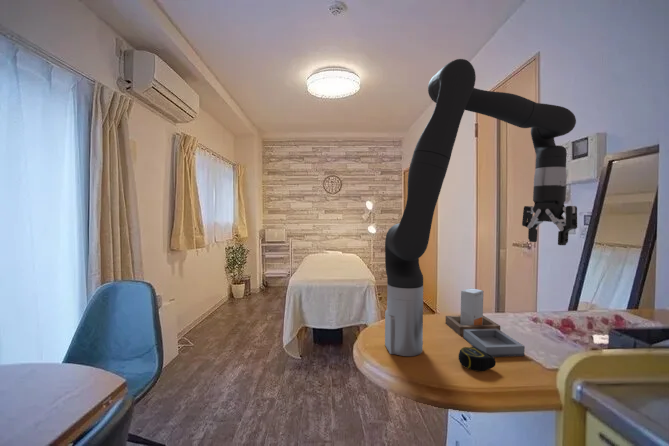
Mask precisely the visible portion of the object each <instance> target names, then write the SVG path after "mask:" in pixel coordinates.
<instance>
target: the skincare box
mask: <svg viewBox="0 0 669 446" xmlns="http://www.w3.org/2000/svg"><path fill="white" fill-rule="evenodd" d="M460 315H461V318H460V324H461V325H483V316H484V290H481V289H477V288H466V289H463V290H460Z"/></svg>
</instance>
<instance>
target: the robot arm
mask: <svg viewBox="0 0 669 446" xmlns="http://www.w3.org/2000/svg"><path fill="white" fill-rule="evenodd" d="M476 77H477V76H476V70H475V68H474V66H473V64H472V63H471V62H470V61H469V60H467V59H465V58H458V59H454V60H452V61H449V62H448V63H446V64H445V65H444V66H443V67H442V68H441V69H439V70H438V71H437V72H436V73H435V74H434V75H433V76H432V77H431V79H430V80H429V82H428V84H427V93H428V96H429V98H430V99H431V101H432V102H433V103H435V105H434V106H435V107H434V110H433V112H432V115H431V116H430V118H429V120H428V122H427V124H426V126H425V127H424V129H423V131H422V133H421V135H420V137H419V138H418V141H417V142H416V145H415V148H414V150H413V153H412V157H411V161H410V164H409V169H408V174H407V195H406V196H407V197H406V203H405V207H404V211H403V213H402V216H401V219H400V221H399V223H396V224H394V225H391V226H390V228H389V229H388V230H387V232H386V235H385V240H384V254H385V255H384V261H385V266H384V267H385V273H386V280H387V281H386V282H387V283H386V285H387V286H386V289H387V290H386V291H387V292H386V293H387V294H386V295H387V296H386V298H387V299H386V300H387V301H386V309H385V312H384V345H385V347H386V349H387V350H388V353H389V354H390V355H397V356H401V357H402V356H403V357H416V356H419V355H421V354H422V353H423V348H424V347H423V345H424V341H423V340H424V338H423V337H424V335H423V334H424V333H423V332H424V331H423V330H424V324H423V323H424V275H423V272H422V269H421V267H420V258H421V257H423V255H424V253H425V252H426V250H427V248H428V245H429V241H430V237H431V229H432V225H433V218H434V214H435V210H436V206H437V202H438V201H439V197H440V194H441V189H442V188H443V187H442V186H443V183H444V180H445V178H446V174H447V171H448V168H449V164H450V160H451V158H452V157H451V156H452V153H453V150H454V149H453V148H454V146H455V142H456V139H457V135H458V132H459V128H460V125H461V121H462V118H463V116H464V113H465V111H468V112H472V113H477V114H480V115H483V116H487V117H491V118H493V119H496V120H499V121H502V122H504V123H507V124H509V125H512V126H514V127H517V128H519V129H520V128H521V129H530V136H531V137H530V138H531V140H532V144H533V148H534V151H535V169H534V175H533V176H534V177H533V194H532V201H533V202H534V205H533V206H531V205H524V206H523V211H522V221H521V226H522V227H526V228H527V229H528V231H527V232H528V235H527V238H528V242H530V243H537V242H538V229H537V228H538V227H539V226H540V225H541V224H543V223H544V222H550V223H553V224H554V225H556V227H557V228H558V233H557V235H558V236H557V245H558V246H566V245H567V244H568V242H569V232H570V231H573V230H577V228H578V207H577V206H576V205H567V206H566V205H565V202H566V199H567V196H566V195H567V177H568V175H567V155H568V153H567V149H566V147H565V146H562V145H557V144H556V142H555V138H558V137H562V136H565V135H568V134H569V133H571V132H572V131H573V129H574V128H575V127H576V124H577V118H576V116H575V114H574V112H573V111H571V110H570V109H569V108H566V107H564V106H561V105H560V106H559V105H555V104H549V103H542V102H536V101H534V100H531V99H528V98H526V97H525V96H521V95H518V94H514V93H510V92H501V91H492V90H486V89H485V90H484V89H480V88H476V87H475V85H476ZM563 214H565V217H564V215H563Z"/></svg>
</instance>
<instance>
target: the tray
mask: <svg viewBox="0 0 669 446" xmlns="http://www.w3.org/2000/svg"><path fill="white" fill-rule="evenodd" d="M463 339H464V340H465V341H466V342H467V343H468V344H469V345H471V347H472V346H474V347H476V348H478V349H480V350H482V351H484V352H486V353H488V354H489V355H491V356H492V357H494V358H500V357H501V358H503V357H525V345H523V344H522V343H520V342H519V341H517V340H516V339H514V338H513V337H511V336H509V335H508V334H506V333H505V332H503V331H501V329H500V330H499V329H465V330H464V335H463Z"/></svg>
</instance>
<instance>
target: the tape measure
mask: <svg viewBox="0 0 669 446" xmlns="http://www.w3.org/2000/svg"><path fill="white" fill-rule="evenodd" d="M458 361H459V363H460V364H461V366H463V367H464V368H466V369H468V370H471V371H476V372H485V371H488V370H490V369H493V368H495V366H496V357H492V356H491V355H489V354H488V353H486V352H484V351H482V350H480V349H478V348H476V347H474V346H472V345H471V346H470V347H469V346H465V347H464V346H463V347H462V348H461V349H459V353H458Z"/></svg>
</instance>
